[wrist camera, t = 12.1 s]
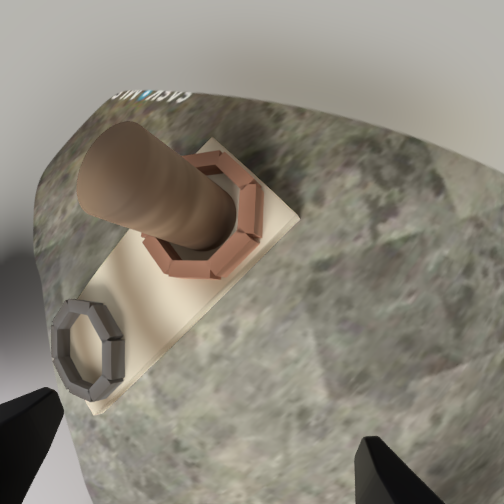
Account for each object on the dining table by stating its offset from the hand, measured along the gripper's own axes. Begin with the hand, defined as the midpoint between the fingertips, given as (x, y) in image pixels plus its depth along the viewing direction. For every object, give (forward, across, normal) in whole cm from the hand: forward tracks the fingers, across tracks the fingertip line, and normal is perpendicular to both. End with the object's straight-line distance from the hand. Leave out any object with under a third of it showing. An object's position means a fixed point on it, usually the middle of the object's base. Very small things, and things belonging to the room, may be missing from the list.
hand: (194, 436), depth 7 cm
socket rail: (+15, +8, +2) cm, 17 cm away
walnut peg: (+14, +3, -3) cm, 15 cm away
